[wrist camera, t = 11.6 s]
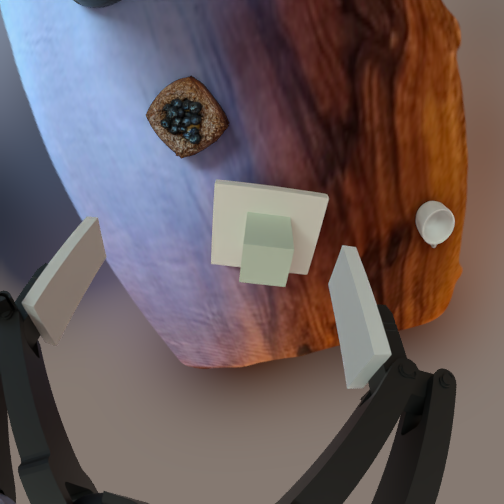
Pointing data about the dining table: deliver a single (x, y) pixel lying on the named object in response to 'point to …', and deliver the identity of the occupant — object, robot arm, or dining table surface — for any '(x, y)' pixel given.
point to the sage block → (267, 249)
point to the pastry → (187, 117)
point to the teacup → (434, 222)
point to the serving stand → (265, 202)
